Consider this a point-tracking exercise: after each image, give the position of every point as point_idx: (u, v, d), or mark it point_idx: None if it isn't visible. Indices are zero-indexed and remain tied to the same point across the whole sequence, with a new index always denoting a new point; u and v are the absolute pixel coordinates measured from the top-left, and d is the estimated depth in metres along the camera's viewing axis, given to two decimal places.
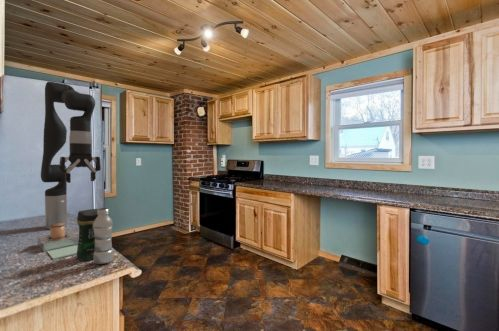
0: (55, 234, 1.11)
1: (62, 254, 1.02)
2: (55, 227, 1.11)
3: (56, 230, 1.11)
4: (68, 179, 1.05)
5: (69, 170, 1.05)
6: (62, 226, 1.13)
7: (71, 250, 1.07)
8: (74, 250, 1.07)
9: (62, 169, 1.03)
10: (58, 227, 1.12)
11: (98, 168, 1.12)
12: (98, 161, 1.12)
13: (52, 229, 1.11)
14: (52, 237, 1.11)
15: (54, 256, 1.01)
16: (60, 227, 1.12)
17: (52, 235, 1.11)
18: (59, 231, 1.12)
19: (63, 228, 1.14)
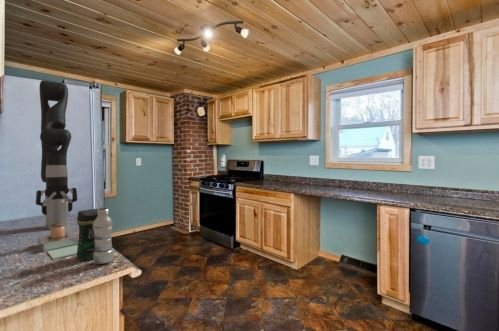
0: (55, 234, 1.11)
1: (62, 254, 1.02)
2: (55, 227, 1.11)
3: (56, 230, 1.11)
4: (44, 212, 1.09)
5: (45, 203, 1.09)
6: (62, 226, 1.13)
7: (71, 250, 1.07)
8: (74, 250, 1.07)
9: (38, 202, 1.07)
10: (58, 227, 1.12)
11: (75, 199, 1.17)
12: (75, 192, 1.17)
13: (52, 229, 1.11)
14: (52, 237, 1.11)
15: (54, 256, 1.01)
16: (60, 227, 1.12)
17: (52, 235, 1.11)
18: (59, 231, 1.12)
19: (63, 228, 1.14)
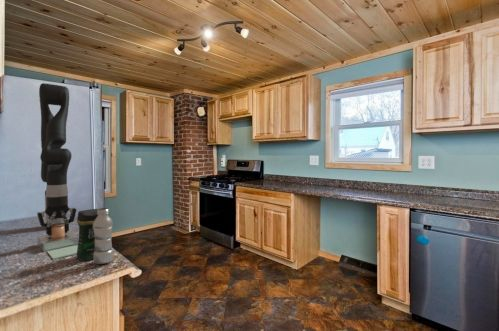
0: (55, 234, 1.11)
1: (62, 254, 1.02)
2: (55, 227, 1.11)
3: (56, 230, 1.11)
4: (49, 232, 1.11)
5: (49, 224, 1.10)
6: (62, 226, 1.13)
7: (71, 250, 1.07)
8: (74, 250, 1.07)
9: (43, 224, 1.09)
10: (58, 227, 1.12)
11: (71, 220, 1.16)
12: (74, 213, 1.17)
13: (52, 229, 1.11)
14: (52, 237, 1.11)
15: (54, 256, 1.01)
16: (60, 227, 1.12)
17: (52, 235, 1.11)
18: (59, 231, 1.12)
19: (63, 228, 1.14)
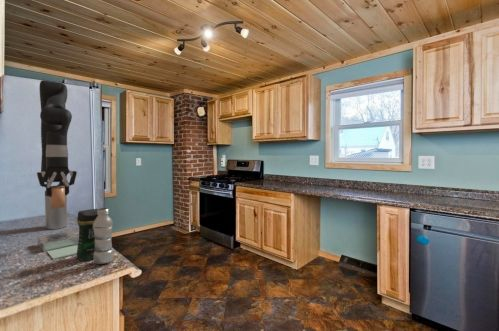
0: (55, 195, 1.09)
1: (62, 254, 1.02)
2: (55, 188, 1.09)
3: (56, 191, 1.09)
4: (49, 193, 1.09)
5: (49, 184, 1.08)
6: (62, 188, 1.11)
7: (71, 250, 1.07)
8: (74, 250, 1.07)
9: (42, 184, 1.07)
10: (58, 188, 1.10)
11: (71, 182, 1.14)
12: (74, 175, 1.15)
13: (52, 190, 1.09)
14: (52, 199, 1.09)
15: (54, 256, 1.01)
16: (60, 189, 1.10)
17: (52, 196, 1.09)
18: (59, 192, 1.10)
19: (63, 190, 1.12)
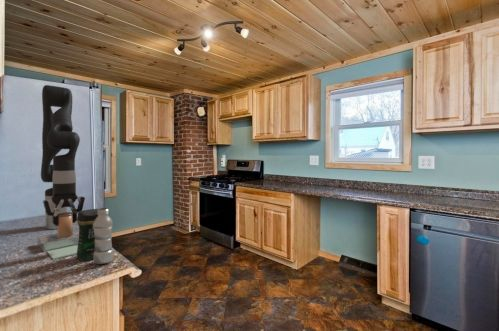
0: (62, 224, 1.03)
1: (62, 254, 1.02)
2: (62, 216, 1.03)
3: (64, 220, 1.03)
4: (55, 222, 1.02)
5: (56, 213, 1.02)
6: (70, 215, 1.05)
7: (71, 250, 1.07)
8: (74, 250, 1.07)
9: (49, 213, 1.00)
10: (66, 216, 1.03)
11: (79, 209, 1.08)
12: (82, 201, 1.08)
13: (59, 218, 1.03)
14: (59, 228, 1.03)
15: (54, 256, 1.01)
16: (68, 217, 1.04)
17: (59, 225, 1.03)
18: (67, 221, 1.04)
19: (71, 218, 1.05)
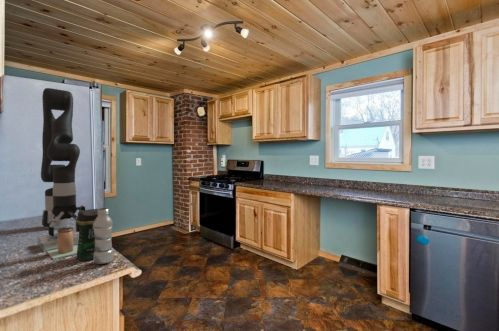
0: (63, 240, 1.03)
1: (62, 254, 1.02)
2: (63, 232, 1.03)
3: (64, 235, 1.03)
4: (51, 233, 1.01)
5: (52, 224, 1.01)
6: (70, 231, 1.05)
7: None
8: (74, 250, 1.07)
9: (45, 224, 0.99)
10: (66, 232, 1.04)
11: None
12: None
13: (60, 234, 1.03)
14: (60, 243, 1.03)
15: (54, 256, 1.01)
16: (69, 233, 1.04)
17: (60, 241, 1.03)
18: (67, 236, 1.04)
19: (71, 233, 1.06)
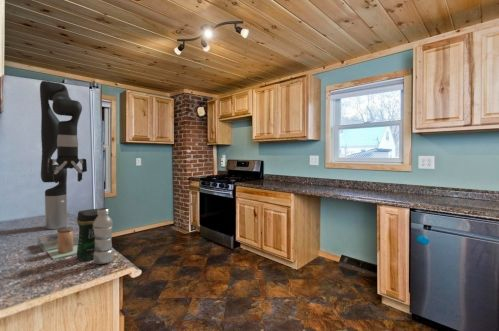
0: (63, 240, 1.03)
1: (62, 254, 1.02)
2: (63, 232, 1.03)
3: (64, 235, 1.03)
4: (55, 180, 1.13)
5: (56, 171, 1.12)
6: (70, 231, 1.05)
7: None
8: (74, 250, 1.07)
9: (50, 170, 1.11)
10: (66, 232, 1.04)
11: (84, 169, 1.20)
12: (84, 163, 1.20)
13: (60, 234, 1.03)
14: (60, 243, 1.03)
15: (54, 256, 1.01)
16: (69, 233, 1.04)
17: (60, 241, 1.03)
18: (67, 236, 1.04)
19: (71, 233, 1.06)
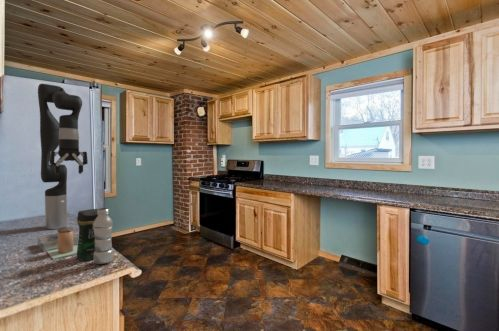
0: (63, 240, 1.03)
1: (62, 254, 1.02)
2: (63, 232, 1.03)
3: (64, 235, 1.03)
4: (57, 171, 1.17)
5: (58, 163, 1.17)
6: (71, 231, 1.05)
7: None
8: (74, 250, 1.07)
9: (52, 162, 1.15)
10: (66, 232, 1.04)
11: (85, 162, 1.24)
12: (85, 155, 1.24)
13: (60, 234, 1.03)
14: (60, 243, 1.03)
15: (54, 256, 1.01)
16: (69, 233, 1.04)
17: (60, 241, 1.03)
18: (67, 236, 1.04)
19: (72, 233, 1.06)
